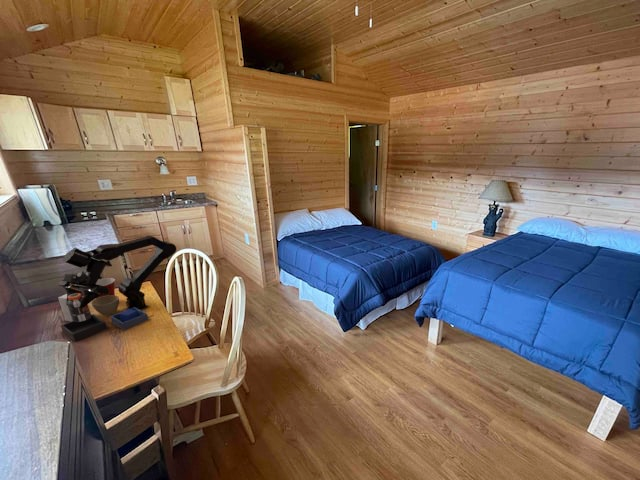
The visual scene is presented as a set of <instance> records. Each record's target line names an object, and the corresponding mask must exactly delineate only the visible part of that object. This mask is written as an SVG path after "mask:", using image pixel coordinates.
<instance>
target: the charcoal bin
mask: <svg viewBox="0 0 640 480" xmlns="http://www.w3.org/2000/svg"><path fill="white" fill-rule="evenodd" d="M60 328H61V330H62V333H63V334H65V335H66V336H67V337H69V338H70V339H71V340H72V341H74V342H77V341H80V340H82V339H86V338H88V337H90V336H93V335H96V334H98V333H100V332H103V331H106V330H108V326H107V322H106V321H105V320H103V319H102V318H100V317H98V316H97V315H95V314H94V313H93V314H91V317H90V318H89V319H87V320H85V321H81V322H75V321H72V322H70V321H68V322H66V323H63V324H61V325H60Z"/></svg>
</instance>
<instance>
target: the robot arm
mask: <svg viewBox="0 0 640 480" xmlns="http://www.w3.org/2000/svg"><path fill="white" fill-rule="evenodd" d="M150 246H154V247H155V251H154V253H153V254H152V256H151V257H150V258H149V259H148V260H147V261H146V263H144V264H143V265H142V267H141V268H140V269H139V270H138V271H137V272H136V273H135V274H134V275H133V276H132V277H130V278H127V277H125V278H123V280H122V281H121V282H120V283H118V284H119V285H118V288H117V289H118V293H120V294H121V295H122V296H124V297H125V299H126V301H125V305H126V310H128V309H131V308H134V307H136V308H138V309H139V310H141V311H142V310H144V309H147V308H148V307H149V306H148V305H146V301H145V297H146V294H145V293H144V292H142V291H141V289H142V287H143V284H144V282H145V281H146V280H147V279H148V278H149V276H151V275H152V273H153V272H154V271H155V270H156V269H157V268H158V267H159V266H160V265H161V264H162V262H163V261H165V260H167V259H169V258H171V257H172V256H173V255H174V254H175V253H177V246H176V245H175V244H174V243H171V242H169V241H168V240H161V239H158V238H157V237H156V236H153V235H146V236H143V237H139V238H135V239H132V240H129V241H125V242H124V241H123V242H120V243H107V244H100V245H97V247H96V248H94V249H91V250H88V251H83V250H82V249H80V248H77V247H73V249H71V250H69V251H68V252H66V253H65V255H64V256H63V263H66V264H68V265H71V266H75V267H76V268H79V269H81V268H84V270H80V271H79V272H78V273H64V275H63V279H61V280H59V283H58V286H59V287H63V289H65V291H66V294H67V302H68V300H69V299H68V296H69V295H71V294H75V293H80V294H81V295H82V291H81V290H83V294H84V295H83V296H82V297H83V300H82V302H81V304H80V308H83V307H85V306H86V305H87V304H88V305H89V304H90V303H91V302H92V301H93V300H95V299H96V298H97V297H99V296H101V294H104V295H108V293H109V291H110V290H109V288H107V287H104V286H102V285H97V284H96V283H97V281H98V280H99V279H103V276H102V273H103V271H104V270H105V268H106V267H111V268H112V267H113V265H112V263H111V261H112V260H115V259H117V258H119V257H121V256H122V255H124V254H126V253H129V252H132V251H135V250H139V249H142V248H147V247H150ZM66 305H67V303H66ZM67 306H68V305H67Z"/></svg>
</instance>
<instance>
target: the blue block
mask: <svg viewBox="0 0 640 480" xmlns="http://www.w3.org/2000/svg"><path fill="white" fill-rule="evenodd" d="M123 311H124V312H123ZM123 311H121V312H122V313H120V312H119V313H120V317H121V321H122V322H125V321H128V320H131V319H133V318H136V317H138V314H137V311H136V310H131V309H125V310H123Z"/></svg>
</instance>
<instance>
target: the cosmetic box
mask: <svg viewBox="0 0 640 480" xmlns="http://www.w3.org/2000/svg"><path fill="white" fill-rule="evenodd" d="M57 300H58V302H59V306H60V308H61V311H62V315H63V317H64V320H65V321H66V322H72V321H73V320H72V317H71V314H70V311H69V308H68V306H67V305H66V303H67V293H65V294H63V295H60V296H58V297H57Z"/></svg>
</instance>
